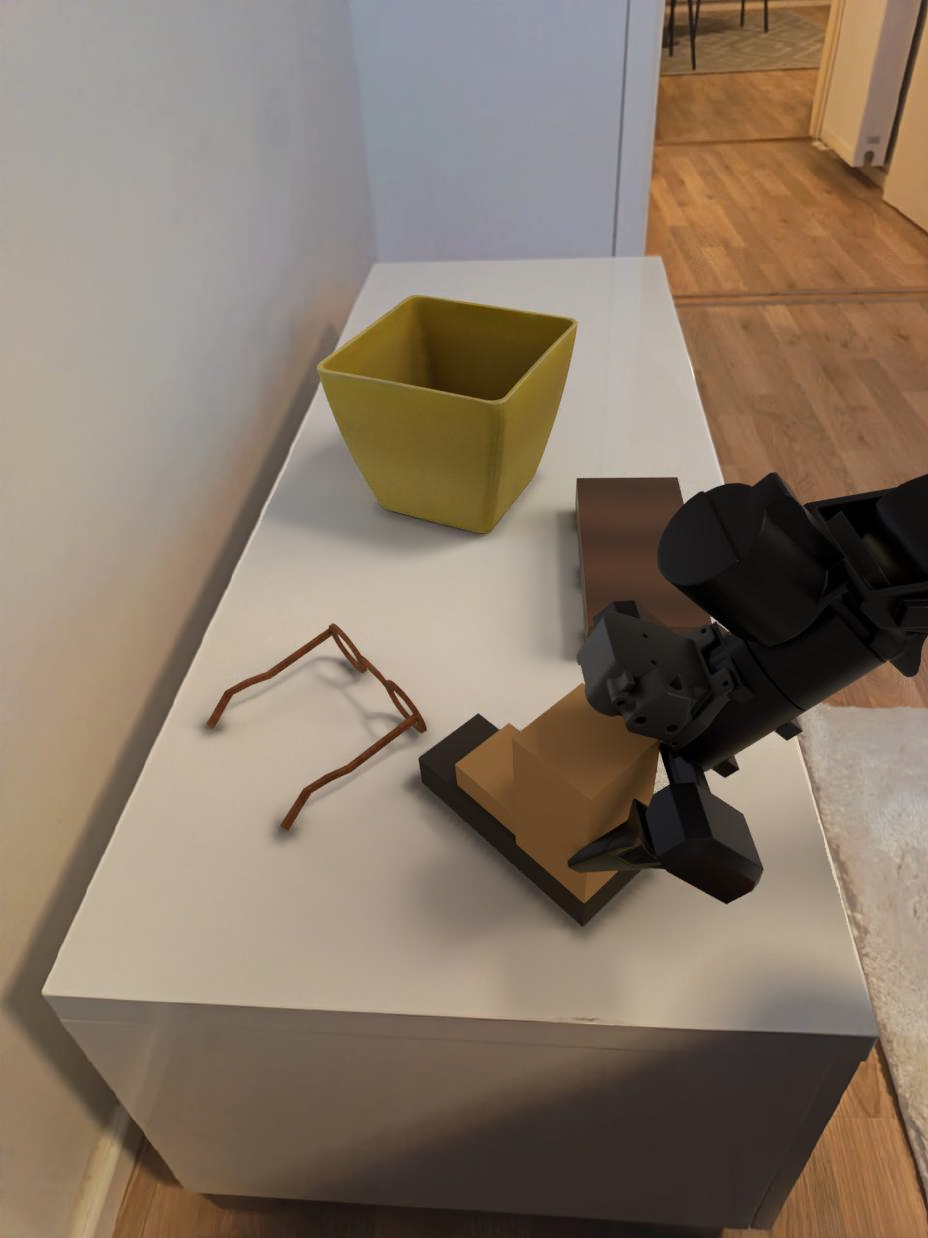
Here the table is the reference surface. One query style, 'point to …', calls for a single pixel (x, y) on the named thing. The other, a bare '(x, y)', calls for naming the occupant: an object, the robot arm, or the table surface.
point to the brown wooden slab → (629, 549)
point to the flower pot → (450, 405)
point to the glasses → (361, 667)
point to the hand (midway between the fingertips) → (560, 805)
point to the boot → (548, 792)
